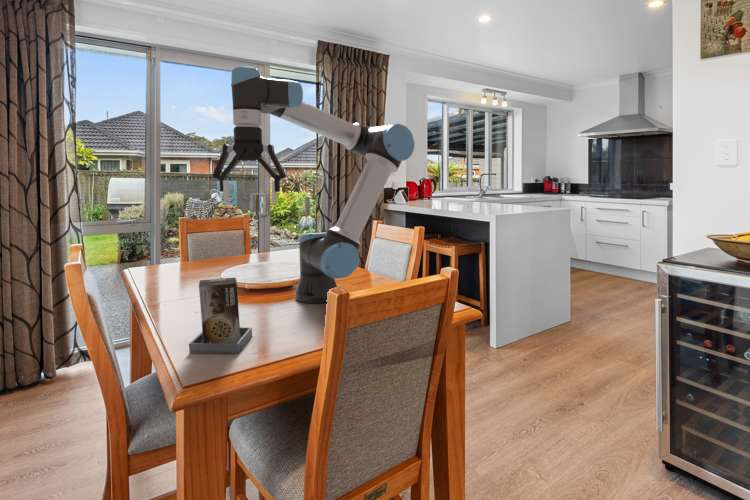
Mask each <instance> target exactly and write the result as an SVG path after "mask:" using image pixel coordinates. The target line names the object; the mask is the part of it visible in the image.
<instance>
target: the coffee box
mask: <svg viewBox="0 0 750 500" xmlns="http://www.w3.org/2000/svg"><path fill="white" fill-rule="evenodd" d="M198 290H199V302H200V304H199V305H200V306H199V307H200V317H201V329H202V333H203V343H237V342H238V341H239V340H240V326H241V325H240V312H239V294H238V280H237V278H236V277H225V278H224V277H223V278H212V279H203V280H202V279H200V280H199V282H198Z"/></svg>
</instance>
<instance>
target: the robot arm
mask: <svg viewBox="0 0 750 500" xmlns="http://www.w3.org/2000/svg"><path fill="white" fill-rule="evenodd" d="M260 73H261V72H260V70H259V69H258V68H256V67H252V66H244V65H243V66H236V67H234V68H232V71H231V85H230V86H231V100H232V122H233V125H234V126H235V127H234V128H233V141H234V142H233V145H229V144H225V143H224V144H223V145H222V152H221V155H220V157H219V159H218V161H217V164H216V166H215V167H214V170H213V173H212V178H215V179H216V180H218V181H219V191H220V192H223V204H224V205H225V204H227V205H228V204H231V198H230V196H231V195H230V181H229V179H227V178H228V177H229V176H230V174H231V173H232V172H233V171H234V169H235V168H236V167H237V166H238V164H239V163H240V162H241V161H242V162H243V161H244V162H248V161H250V162H256V161H257V162H258V163H260V165H261V166H262V167H263V168H264V170H266V172H267V173H268V174H269V175H270V177H272V179H273V180H271V204H272V205H277V204H278V199H277V198H278V196H277V195H278V192H279V193H280V191H281V180H283V179H285V178H286V177H287V174H286V172H285V170H284V168H283V166H282V165H281V163H280V161H279V158H278V157H277V155H276V153H275V145H273V144H267V145H264V144H263V136H262V135H263V133H262V131H263V130H262V128H261V127H260V126H262V114H269V115H272V116H275V117H277V118H280V119H282V120H284V121H287V122H289V123H292V124H293V125H296V126H298V127H301V128H303V129H305V130H308V131H310V132H313V133H314V134H315V133H316V134H318V135H320V136H322V137H325V138H327V139H330V140H332V141H334V142H336V143H339V144H340V145H344V146H345V147H344V148H345V149H346V150H347V151H349V152H352V153H354V154H357V155H359V156H361V157H364V158H365V159H366V163H365V165H364V167H363V169H362V172H361V174H360V175H359V177H358V180H357V181H356V184H355V185H354V187H353V189H352V192H351V194H350V196H349V197H348V200H347V202H346V204H345V205H344V208H343V210H342V212H341V214H340V216H339V218H338V219H337V222H336V223H335V226H333V227H330V228H328V229H327V232H326V231H325V232H312V233H311V232H310V233H302V234H301V235H299V242H298V246H299V248H298V249H299V272H300V274H299V279H298V282H297V286H296V290H295V300H296V301H298V302H301V303H304V304H305V303H306V304H325V303H326V300H327V292H328V291H329V289H331V288H334V287H338V285H337V281H336V279H339V280H341V279H344V278H347V277H349V276H351V275H352V274H353V273H355V271H356V270H357V268H358V267H359V263H360V256H359V249H360V248H361V246H362V245H361V241H360V237H361V235H362V233H363V230H364V229H365V226H366V225H367V222H368V220H369V219H370V216H371V215H372V212H373V210H374V208H375V206H376V204H377V202H378V200H379V198H380V196H381V194H382V192H383V190H384V188H385V186H386V183H387V182H388V179H389V178H390V175H391V174H394V173H396V172H398V169H399V168H400V165H401V164H402V162H403V161H406V160H408V159H409V158H411V156H413V154H414V150H415V139H414V135H413V133H412V132H411V130H410V129H409V128H408V126H406V125H404V124H402V123H388V124H386V125H378V126H369V125H368V126H367V125H364V124H361V123H359V122H355V123H351V122H349V121H347V120H345V119H342V118H340V117H338V116H336V115H333V114H331V113H329V112H327V111H325V110H322V109H320V108H318V107H316V106H314V105H311V104H309V103H306V102H305V101H303V98H304V91H303V86H302V85H301V83H300V82H298V81H295V80H290V79H280V78H279V79H277V78H270V77H269V78H267V77H263V76H261V74H260ZM232 151H233V152H234V153H235V155H234V156H233V158H232V160H231V161H230V162H229V163H228V165H227V166H226V167H225V164H226V163H227V160H228V158H229V156H230V153H232ZM264 151H265V152H266V153H267V154H268V155H269V158H270V160H271V161H272V163H273V165H274V167H275V169H276V170H277V172H276V171H275V170H274V168H273V167H272V166H271V165H270V164H269V162H268V161H267V160H266V159H265V157H264V156H263V155H262V154H263V152H264ZM224 167H225V169H224ZM223 169H224V170H223ZM222 171H223V172H222Z"/></svg>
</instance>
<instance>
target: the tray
mask: <svg viewBox="0 0 750 500" xmlns="http://www.w3.org/2000/svg"><path fill="white" fill-rule="evenodd" d="M252 338H253V328H252V326H251V327H248V326H247V327H242V326H241V327H240V340H239V341H238V342H237V343H203V333H202V332H200V333H199V334H198V335H197V336H196V337H195V338H193V339H192V340H191V341H190V342H189V343H188V348H189V354H196V355H197V354H198V355H200V354H206V355H207V354H213V355H217V354H220V355H221V354H222V355H224V354H225V355H239V354H240V353H241V351H242V350H243V349H244V348H245V346H246V345H247V344H248V342H249V341H250V340H251V339H252Z"/></svg>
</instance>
